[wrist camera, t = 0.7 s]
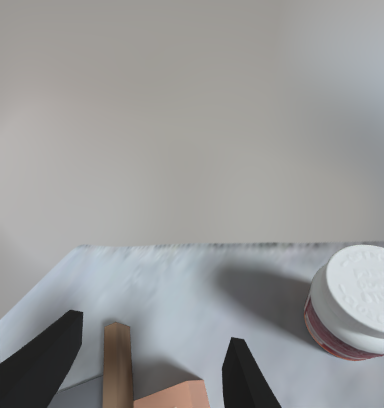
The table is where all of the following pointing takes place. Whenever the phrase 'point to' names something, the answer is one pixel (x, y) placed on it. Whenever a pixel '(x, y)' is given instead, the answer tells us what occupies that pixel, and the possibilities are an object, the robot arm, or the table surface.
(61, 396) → the slate mat
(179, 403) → the marked cube
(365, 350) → the pill bottle
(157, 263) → the table surface
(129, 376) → the walnut board
